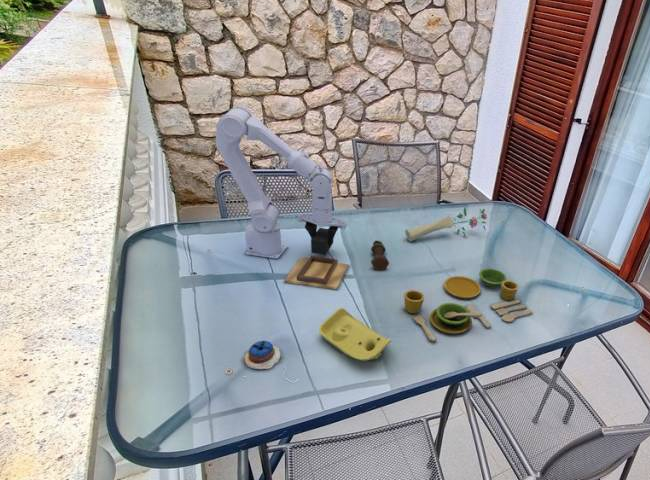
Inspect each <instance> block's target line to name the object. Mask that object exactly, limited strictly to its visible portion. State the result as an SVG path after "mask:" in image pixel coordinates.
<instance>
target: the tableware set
mask: <svg viewBox="0 0 650 480" xmlns="http://www.w3.org/2000/svg"><path fill="white" fill-rule="evenodd" d="M505 274H506V273H505ZM505 274H504V273H503V272H502V271H500V270H498V269H495V268H482V269H480V271H479V273H478V275H479V278H480V279H481V282H482V284H483V285H484V286H485V287H488V288H491V289H496V288H499V287H500V286H501V287H500V288H501V289H500V298H502V299H503V300H506V301H500V302H496V303H493V304H491V309H492V310H493V311H495V313H497V314H498V315H499V316H501V317H502V320H503V321H504V322H506V323H512V322H514V320H515V319H517V318H521V317H525V316H530V315H531V314H532V313H533V312H532V310H531V309H527V305H526V304H521V300H520V299H515V300H514V298H515V296H516V294H517V292H518V290H519V287H520V286H519V284H518V283H517V282H515V281H513V280H507V276H506V275H505ZM443 287H444V289H445V291H446V292H447V293H448V294H449V295H451V296H452V297H453V296H454V297H455V298H459V299H472V298H475V297H477V296H478V295H480V294H481V291H482V288H481V286H480V284H479V283H478V282H477V281H475V280H474V279H472V278H470V277H467V276H463V275H462V276H461V275H456V276H455V275H454V276H451V277H447V278H446V279H445V280H444V281H443ZM403 297H404V298H403V301H404V309H405V311H406V312H407V313H409V314H418V313H419V312H420V311H421V309H422V306H423V303H424V301H425V293H423V292H422V291H419V290H416V289H410V290H407V291H405V292H404V295H403ZM507 301H509V302H507ZM519 304H520V305H519ZM515 305H517V306H515ZM512 306H513V307H512ZM508 307H509V308H508ZM521 310H523V311H521ZM516 311H520V312H517V313H515V314H509V313H511V312H516ZM412 318H413V320H414V322H415V323H416V324H417V325H419V326H421V328H422V330H423V332H424V333H425V335H426V337H427V339H428V341H430V342H432V343H433V342H436V336H435V335H434V334H433V333H432V331H431V330H430V329H429V327H428V326H427V325H426V319H425V318H424V316H423V315H421V314H420V315H417V316H413V317H412ZM473 318H475V319H479V321H480V322H481V323H482V325H483V326H484V327H485V328H486V329H490V328H491V325H490V323H489V322H488V320H486V319H485V318H484V316H483V313H482V312H481V311H478V310H477V309H476V308H475V307H474V305H473V304H467V305H466V306H463V305H462V304H460V303H455V302H445V303H442V304H440V305H439V306H437V307H436V308H435V309H433V310H432V311H431V312H430V315H429V320H430V323H431V325H432V326H433V327H434V328H436V329H437V330H439V331H440V332H442V333H446V334H451V335H454V334H455V335H456V334H462V333H464V332H467V330H469V329H471V327H472V325H473Z"/></svg>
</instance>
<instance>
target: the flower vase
mask: <svg viewBox="0 0 650 480" xmlns="http://www.w3.org/2000/svg"><path fill="white" fill-rule="evenodd" d="M485 209H486V208H485V207H484V208H483V209H481V208H479V217H475V216H472V217H471V218H469V219H468V223H469V224H468V225H469V226H470V228H471V229H474V228H477V227H476V226H477V225H478V220H479V219H482V220H487V215H488V214H486V213H485V211H486V210H485ZM467 215H468V214H467V209H466V207H464V208H463V213H461V212H459V213H458V215H456V218H458V221H457V220H456V218H455V217H454V218H453V219H452V216H451V214H449V215H447V216H446V217H443V218H441V219H439V220H435V221H434V222H430V223H428V224H424V225H419V226H415V227H413V228H408V229H405V231H404V234H405V236H406V239H407V241H409V243H411V242H413V241H415V240H418V239H419V238H422V237H424V236H426V235H429V234H431V233H434V232H437V231H440V230H444V229H451V228H453V227H455V228H457V226H456V225H457V224H463V223H467V220H463V219H464V217H467ZM460 219H462V220H461V221H459V220H460ZM482 224H487V222H486V221H481V223H479V225H480V226H482V227H483V229H484V230H486V226H485V225H482ZM460 231H462V234H463V236H464V238H466V229H465V226H462V227H460V226H459V228H458V229H457V230H456V234H459V233H460Z"/></svg>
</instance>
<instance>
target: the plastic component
mask: <svg viewBox="0 0 650 480" xmlns="http://www.w3.org/2000/svg"><path fill="white" fill-rule="evenodd" d="M318 332H319V334H320V335H321V336H322V337H323V339H325V340H326V341H327V342H328V343H330V344H331V345H332V346H334V347H335V348H336V349H338V350H339V351H341V352H342V353H344V355H346V356H349V357H351V358H352V359H355V360H358V361H369V360H374V359H376V360H377V359H378V357H379V356H381V355H382V353H381V352H382V351H383V350H384V349H385V348H386V347H387V346H388V345H389V344H390V343H391V342H392V339H391V338H386V337H385V336H382V335H381V334H379V333H378V332H376V331H375V330H373V329H372V328H370V327H368V326H367V325H365V324H364V323H362V322H361V321H359V320H358V319H357V318H355V317H354V316H353V315H351V313H350V312H348V311H347V310H346V309H345V308H343V307H339V308H337V309H336V310H335V311H334V312H333V313H332V314H331V315H330V316H328V317H327V318H326V319H325V320H324V321H323V322H321V324H320V325H319V328H318Z"/></svg>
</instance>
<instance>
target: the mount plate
mask: <svg viewBox="0 0 650 480" xmlns="http://www.w3.org/2000/svg"><path fill="white" fill-rule="evenodd" d="M348 268H349V264H348V263H342V262H339V260H338V259H337V258H329V257H322V256H317V255H310V256H309V257H304V256H300V258H299V259H298V260H297V262H296V264H295V265H294V266H293V268H292V269H291V270H290V271H289V273H288V275H287V276H286V277H285V279H284V283H287V284H293V285H301V286H308V287H314V288H321V289H328V290H338V288H339V286H340V284H341V282H342V280H343V278H344V276H345V274H346V273H347V270H348Z"/></svg>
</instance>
